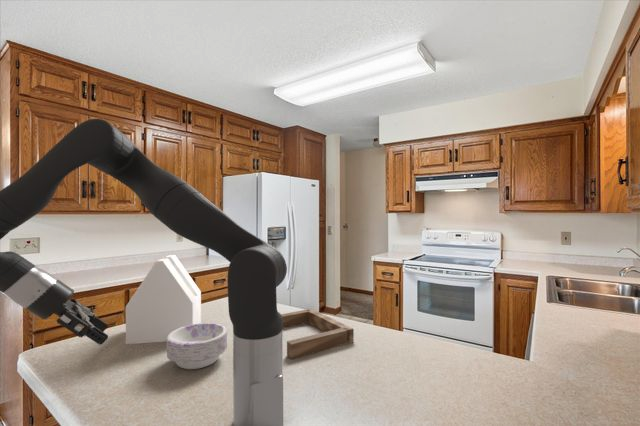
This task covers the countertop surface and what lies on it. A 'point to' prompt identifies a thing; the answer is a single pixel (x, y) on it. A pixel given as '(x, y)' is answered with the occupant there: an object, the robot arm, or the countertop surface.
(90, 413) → the countertop surface
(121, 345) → the countertop surface
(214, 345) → the paper bowls
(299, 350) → the walnut bay
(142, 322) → the white house shaped block
